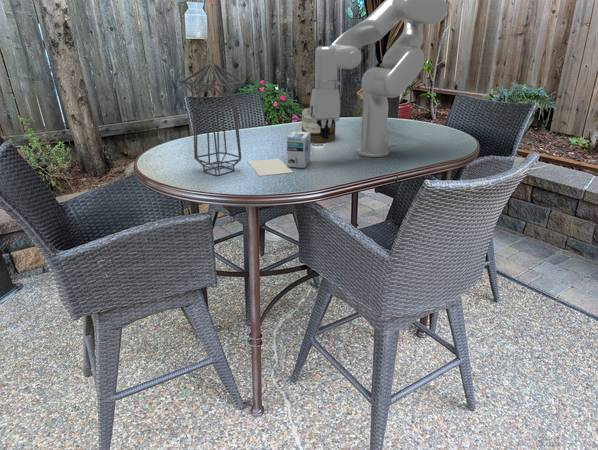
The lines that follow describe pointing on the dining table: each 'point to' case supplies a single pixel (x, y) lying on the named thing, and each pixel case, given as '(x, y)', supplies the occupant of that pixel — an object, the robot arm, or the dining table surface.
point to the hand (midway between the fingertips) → (324, 138)
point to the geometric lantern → (219, 73)
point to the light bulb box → (298, 149)
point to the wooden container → (314, 127)
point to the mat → (269, 167)
